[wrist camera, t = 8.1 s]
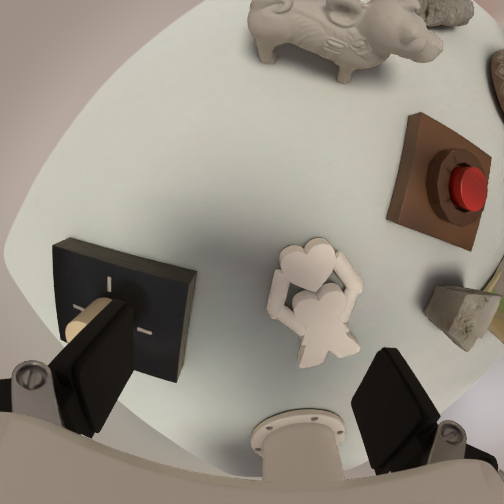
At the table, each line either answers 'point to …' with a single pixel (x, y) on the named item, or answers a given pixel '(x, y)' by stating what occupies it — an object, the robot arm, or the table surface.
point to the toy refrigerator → (500, 324)
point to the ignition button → (468, 188)
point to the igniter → (435, 182)
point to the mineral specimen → (462, 313)
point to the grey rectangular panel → (500, 280)
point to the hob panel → (128, 299)
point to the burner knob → (85, 317)
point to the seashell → (445, 12)
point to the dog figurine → (344, 31)
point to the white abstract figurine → (316, 300)
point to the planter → (498, 75)
